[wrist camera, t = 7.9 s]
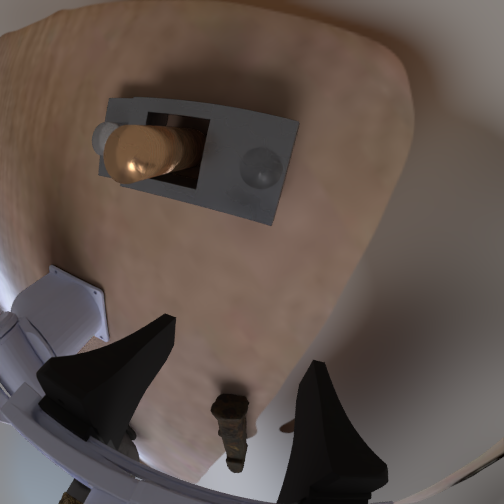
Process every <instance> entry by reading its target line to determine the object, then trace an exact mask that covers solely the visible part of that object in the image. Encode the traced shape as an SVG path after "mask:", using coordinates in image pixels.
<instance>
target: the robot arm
mask: <svg viewBox="0 0 504 504" xmlns="http://www.w3.org/2000/svg"><path fill="white" fill-rule="evenodd" d="M49 271H50V273H48V274H47V275H45V276H44V277H42V278H41V279H39V280H38V281H36V282H35V283H33V284H32V285H30V286H29V287H28V288H26V289H25V290H23V291H22V292H21V293H20V294H19V295H18V296H17V297H16V298H15V300H14V302H13V304H12V307H11V312H9V311H8V312H5V313H3V314H1V315H0V383H1V384H2V385H3V387H4V388H5V389H6V391H7V392H8V393H9V394H10V396H11V397H10V398H9V397H8V396H7V395H6V394H5V392H4V391H3V390H2V389H1V387H0V422H3V423H6V424H10V425H12V426H13V427H14V428H15V429H16V430H17V431H18V432H19V433H20V434H21V435H22V436H23V437H24V438H25V439H26V440H27V441H28V442H30V443H31V444H32V445H33V446H34V447H35V448H36V449H37V450H39V451H40V452H41V453H42V454H44V455H45V456H46V457H47V458H48V459H50V460H51V461H52V462H53V463H55V464H56V465H57V466H58V467H60V468H61V469H62V470H64V471H65V472H67V473H68V474H69V475H71V476H72V477H74V478H75V479H76V480H78V481H79V482H81V483H82V484H84V485H86V486H87V487H89V488H90V489H92V490H91V492H90V493H89V495H88V497H87V499H86V500H85V502H84V504H368V500H369V499H371V492H373V491H375V490H377V489H379V488H381V487H383V486H384V485H386V483H387V482H388V468H387V465H386V463H384V462H383V461H382V460H381V459H380V458H379V457H378V456H377V455H376V454H375V453H374V452H373V451H372V450H371V449H370V448H369V447H368V446H367V444H366V443H365V442H364V441H363V439H362V438H361V437H360V435H359V434H358V433H357V431H356V430H355V428H354V427H353V425H352V424H351V422H350V420H349V419H348V417H347V415H346V413H345V411H344V409H343V407H342V405H341V403H340V401H339V399H338V396H337V394H336V392H335V389H334V387H333V384H332V381H331V379H330V376H329V373H328V371H327V367H326V365H325V363H324V362H320V361H316V360H313V361H312V363H311V365H310V367H309V368H308V370H307V372H306V373H305V375H304V377H303V379H302V381H301V382H300V384H299V389H298V395H297V400H296V411H295V426H294V438H293V445H292V450H291V455H290V459H289V463H288V467H287V471H286V475H285V478H284V482H283V485H282V489H281V491H280V495H279V497H278V500H277V503H269V502H263V501H258V500H252V499H247V498H242V497H238V496H233V495H230V494H226V493H221V492H218V491H214V490H210V489H207V488H204V487H201V486H198V485H195V484H192V483H189V482H186V481H183V480H180V479H178V478H175V477H172V476H170V475H167V474H165V473H162V472H160V471H157V470H155V469H153V468H150V467H148V466H146V465H144V464H142V463H140V462H137V461H135V460H133V459H131V458H129V457H127V456H125V455H123V454H121V453H120V452H118V449H119V446H120V444H121V441H122V439H123V436H124V434H125V432H126V429H127V427H128V425H129V422H130V420H131V418H132V416H133V414H134V412H135V410H136V408H137V406H138V404H139V402H140V400H141V398H142V396H143V394H144V393H145V391H146V389H147V388H148V386H149V385H150V384H151V382H152V381H153V379H154V378H155V376H156V375H157V373H158V372H159V370H160V369H161V367H162V366H163V365H164V363H165V362H166V360H167V358H168V356H169V354H170V352H171V350H172V348H173V346H174V338H175V324H176V317H173V316H170V315H168V314H163V315H162V316H160V317H159V318H157V319H156V320H154V321H153V322H151V323H149V324H148V325H146V326H145V327H143V328H141V329H140V330H138V331H136V332H134V333H133V334H131V335H129V336H127V337H125V338H123V339H121V340H119V341H117V342H114V343H112V344H110V345H107V346H104V347H102V348H99V349H95V350H92V351H89V352H85V353H80V354H77V353H78V352H79V350H80V349H81V348H82V347H83V346H84V345H85V344H86V343H87V342H88V341H89V340H90V339H91V338H92V337H93V336H96V337H97V338H99V339H101V340H103V341H105V342H108V341H109V335H108V328H107V320H106V312H105V303H104V294H103V291H102V290H101V289H99V288H97V287H94V286H92V285H90V284H88V283H86V282H84V281H82V280H80V279H78V278H76V277H74V276H72V275H70V274H68V273H66V272H65V271H63V270H61V269H59V268H57V267H55V266H53V265H50V266H49ZM127 472H128V473H127ZM129 473H130V474H132V475H134V476H136V477H138V478H140V479H142V480H141V481H140V480H137V479H135V478H133V477H130V474H129ZM371 504H393V502H392V501H389V502H379V503H371Z"/></svg>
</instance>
